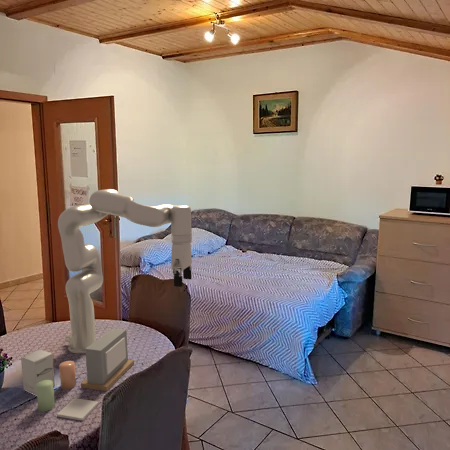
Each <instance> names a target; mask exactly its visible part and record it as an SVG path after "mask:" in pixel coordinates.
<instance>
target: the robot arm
mask: <svg viewBox="0 0 450 450" xmlns="http://www.w3.org/2000/svg"><path fill="white" fill-rule="evenodd" d="M88 202H89V203H85V204H78V205H73V206H70V207H68V208H67V209H65V210H64V211H62V212H61V213H60V215H59V216H58V220H57V228H58V232H59V235H60V239H61V247H62V252H63V257H64V258H63V259H64V265H65V267H66V268H67V270H68V271H70V272H75V273H76V272H79V273H77V274H75V275H72V276H71V277H69V279H68V280H67V281H66V283H65V286H64V287H65V293H66V297H67V302H68V306H69V307H68V309H69V310H68V311H69V319H70V320H69V321H70V331H71V335H68V334H67V335H65V338H64V343H69V345H68V348H67V349H68V351H69V352H70V353H72V354H76V355H77V354H79V355H80V354H86V352H85V349H86V348H87V347H88V346H90V345H91V344H92V343H94V342H95V341H96V340H97V339H98V338H96V336H97V335H96V323H95V307H94V302H93V299H92V298H91V294H92V293H94V292H96V291H97V290H99V289H100V288H101V287H102V286H103V283H104V276H103V269H102V261H101V257H100V253H99V250H98V249H97V247H96V246H95V245H92V244H90V243H85V238H84V235H83V233H82V231H81V230H80V228H82V227H85V226H90V225H93V224H96V223H98V222H100V221H102V219H104V218H106V217H107V216H108V215H112V216H115V217H119V218H124V219H126V220H127V221H130V222H132V223H134V224H137V225H141V226H144V227H145V226H146V227H151V228H158V227H162V226H164V225H168V224H170V225H171V226H170V229H171V233H170V234H171V244H172V246H171V255H170V256H171V262H170V263H171V264H170V265H171V267H170V269H172V276H173V287H176V288H177V287H178V288H179V287H180V288H182V287H183V283H184V282H183V279H184V280H192V256H193V255H192V245H191V244H192V243H193V239H192V238H193V237H192V236H193V235H192V209H191V207H190V206H189V205H185V204H183V205H182V204H181V205H179V204H177V205H173V204H168V203H167V204H166V203H164V204H163V203H162V204H158V205H154V206H150V205H147V204H142V203H137V202H136V201H135V200H134V198H133V197H132V196H129V195H126V194H123V193H122V194H121V193H120V192H119V191H118V190H116V189H114V188H113V189H112V188H107V189H99V190H96V191H94V192H92V193H91V195H90V197H89V199H88ZM80 271H81V272H80ZM182 274H183V275H182Z"/></svg>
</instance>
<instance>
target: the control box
mask: <svg viewBox="0 0 450 450" xmlns="http://www.w3.org/2000/svg"><path fill="white" fill-rule="evenodd" d="M127 334H128V333H127V329H123V328H122V329H121V328H115V327H114V328H113V327H112V328H111V329H109V330H108V331H107V332H105V333H104V334H102V335H101V336H100V337H98V338H96V339H97V340H96V341H95V342H94V343H92V344H91V345H90V346H88V347H87V348H86V349H85V352H86V353H85V363H86V364H85V365H86V366H85V367H86V378H85V379H84V380H83V381H81V383H80V388H82V389H83V388H84V389H89V390H96V391H97V390H98V391H103V392H108V391H109V390H110V389H111V388H112V387H113V386H114V384H116V383H117V381H119V380H120V379H121V378H122V376H124V375H125V374H126V373H127V371H128V370H129V369H131V367H133V365H134V364H135V359H129V355H128V354H129V353H128V335H127Z"/></svg>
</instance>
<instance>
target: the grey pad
mask: <svg viewBox="0 0 450 450" xmlns="http://www.w3.org/2000/svg"><path fill="white" fill-rule="evenodd" d="M99 403H100V401H96V400H89V399H83V398H76V397H74V398H73V399H72V400H70V402H68V403H67V404H66V405H65V406H64V407H63V408H61V410H60V411H58V412H57V414H56V417H59V418H65V419H71V420H77V421H82V422H83V421H84V420H85V419H86V418H88V416H89V415H90V414H91V413H92V412H93V411H94V410H95V409H96V407H98V405H100V404H99Z"/></svg>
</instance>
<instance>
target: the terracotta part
mask: <svg viewBox="0 0 450 450" xmlns="http://www.w3.org/2000/svg"><path fill="white" fill-rule="evenodd" d="M58 367H59V377H60V378H59V379H60V388H61V389H62V390H65V389H66V390H71V389H74V388H75V387H76V385H77V378H76V377H77V376H76V363H75V361H74V360H66V361H63V362H61V363H60V364H59V366H58Z"/></svg>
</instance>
